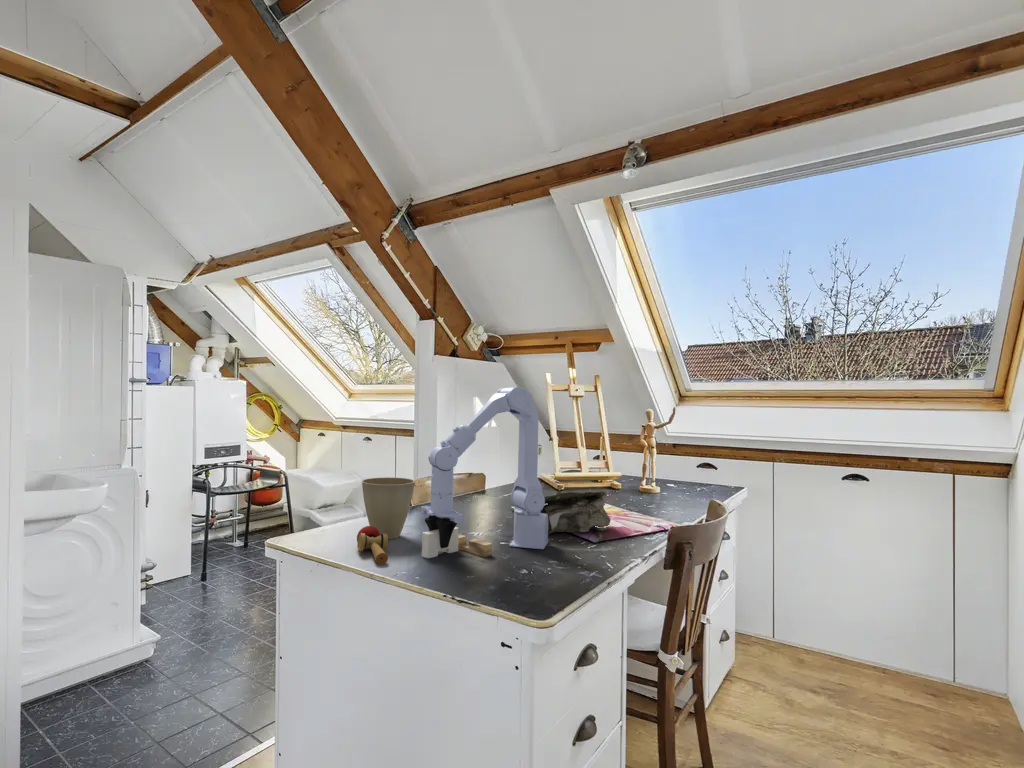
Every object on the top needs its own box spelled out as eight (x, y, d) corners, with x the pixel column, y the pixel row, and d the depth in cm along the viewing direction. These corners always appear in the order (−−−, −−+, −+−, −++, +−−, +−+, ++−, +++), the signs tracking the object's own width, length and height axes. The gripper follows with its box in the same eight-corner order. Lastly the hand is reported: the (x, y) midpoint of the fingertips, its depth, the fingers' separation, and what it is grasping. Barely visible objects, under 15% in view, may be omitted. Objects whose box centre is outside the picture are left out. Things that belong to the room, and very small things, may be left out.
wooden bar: (491, 555, 142) (492, 543, 142) (484, 557, 140) (485, 545, 140) (451, 542, 153) (451, 532, 153) (444, 544, 151) (444, 533, 151)
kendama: (400, 567, 135) (382, 539, 151) (397, 543, 134) (379, 518, 150) (368, 577, 131) (353, 547, 147) (365, 552, 130) (350, 525, 146)
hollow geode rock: (530, 551, 163) (546, 522, 154) (517, 515, 172) (531, 485, 162) (610, 540, 175) (629, 513, 165) (593, 507, 183) (611, 479, 174)
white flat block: (458, 551, 145) (458, 528, 145) (427, 558, 138) (428, 534, 138) (451, 549, 147) (452, 526, 147) (421, 556, 140) (422, 532, 140)
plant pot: (407, 544, 151) (409, 485, 151) (353, 542, 151) (355, 484, 151) (417, 530, 166) (419, 477, 166) (368, 529, 166) (370, 476, 166)
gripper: (412, 491, 145) (410, 543, 145) (448, 499, 135) (446, 555, 135) (433, 488, 150) (432, 538, 150) (469, 495, 140) (468, 549, 140)
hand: (440, 546), depth 142 cm, fingers closed on white flat block, 2 cm apart
